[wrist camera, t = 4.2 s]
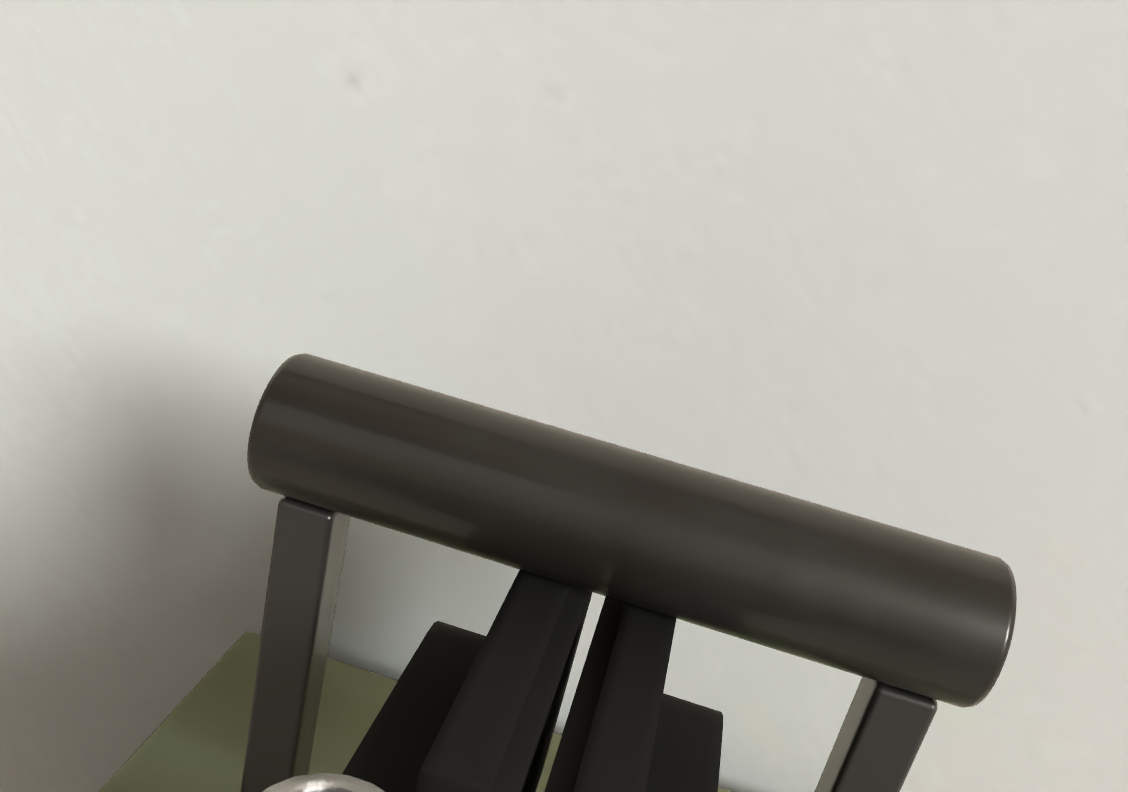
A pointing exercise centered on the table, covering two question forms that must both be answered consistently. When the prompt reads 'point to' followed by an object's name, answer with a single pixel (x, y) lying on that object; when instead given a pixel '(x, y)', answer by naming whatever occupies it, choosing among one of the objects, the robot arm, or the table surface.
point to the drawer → (565, 577)
